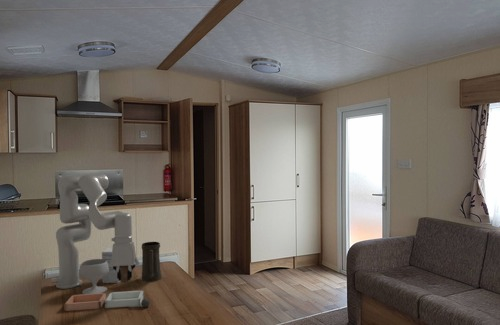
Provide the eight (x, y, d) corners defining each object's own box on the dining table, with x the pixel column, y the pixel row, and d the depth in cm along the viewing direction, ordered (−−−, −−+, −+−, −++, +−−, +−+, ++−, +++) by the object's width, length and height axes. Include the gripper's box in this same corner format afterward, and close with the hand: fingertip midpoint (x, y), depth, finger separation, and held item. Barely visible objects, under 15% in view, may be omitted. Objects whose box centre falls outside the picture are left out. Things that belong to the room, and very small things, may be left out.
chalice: (99, 297, 186) (98, 266, 186) (73, 295, 189) (72, 265, 189) (114, 287, 200) (114, 258, 199) (90, 286, 203) (89, 257, 202)
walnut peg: (119, 283, 176) (119, 265, 176) (121, 280, 179) (120, 263, 179) (128, 282, 176) (127, 265, 176) (129, 280, 180) (128, 263, 180)
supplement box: (109, 277, 217) (108, 247, 217) (125, 277, 217) (124, 247, 216) (102, 283, 207) (101, 251, 207) (119, 282, 207) (118, 251, 207)
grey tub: (105, 309, 171) (104, 301, 171) (110, 299, 183) (110, 292, 182) (140, 306, 174) (140, 299, 174) (143, 297, 185) (143, 290, 185)
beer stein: (139, 276, 216) (139, 242, 215) (159, 274, 221) (158, 239, 219) (144, 287, 203) (144, 249, 201) (164, 283, 207) (164, 247, 205)
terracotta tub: (64, 312, 169) (64, 304, 169) (72, 302, 180) (72, 295, 180) (100, 309, 171) (100, 301, 171) (106, 300, 182) (106, 292, 182)
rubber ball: (140, 308, 172) (140, 300, 171) (142, 305, 175) (141, 297, 175) (149, 307, 172) (149, 299, 172) (150, 304, 176) (149, 297, 176)
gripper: (102, 242, 173) (104, 283, 173) (140, 240, 175) (142, 281, 175) (106, 239, 180) (107, 278, 180) (143, 237, 182) (144, 276, 183)
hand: (124, 279), depth 178 cm, fingers closed on walnut peg, 3 cm apart
